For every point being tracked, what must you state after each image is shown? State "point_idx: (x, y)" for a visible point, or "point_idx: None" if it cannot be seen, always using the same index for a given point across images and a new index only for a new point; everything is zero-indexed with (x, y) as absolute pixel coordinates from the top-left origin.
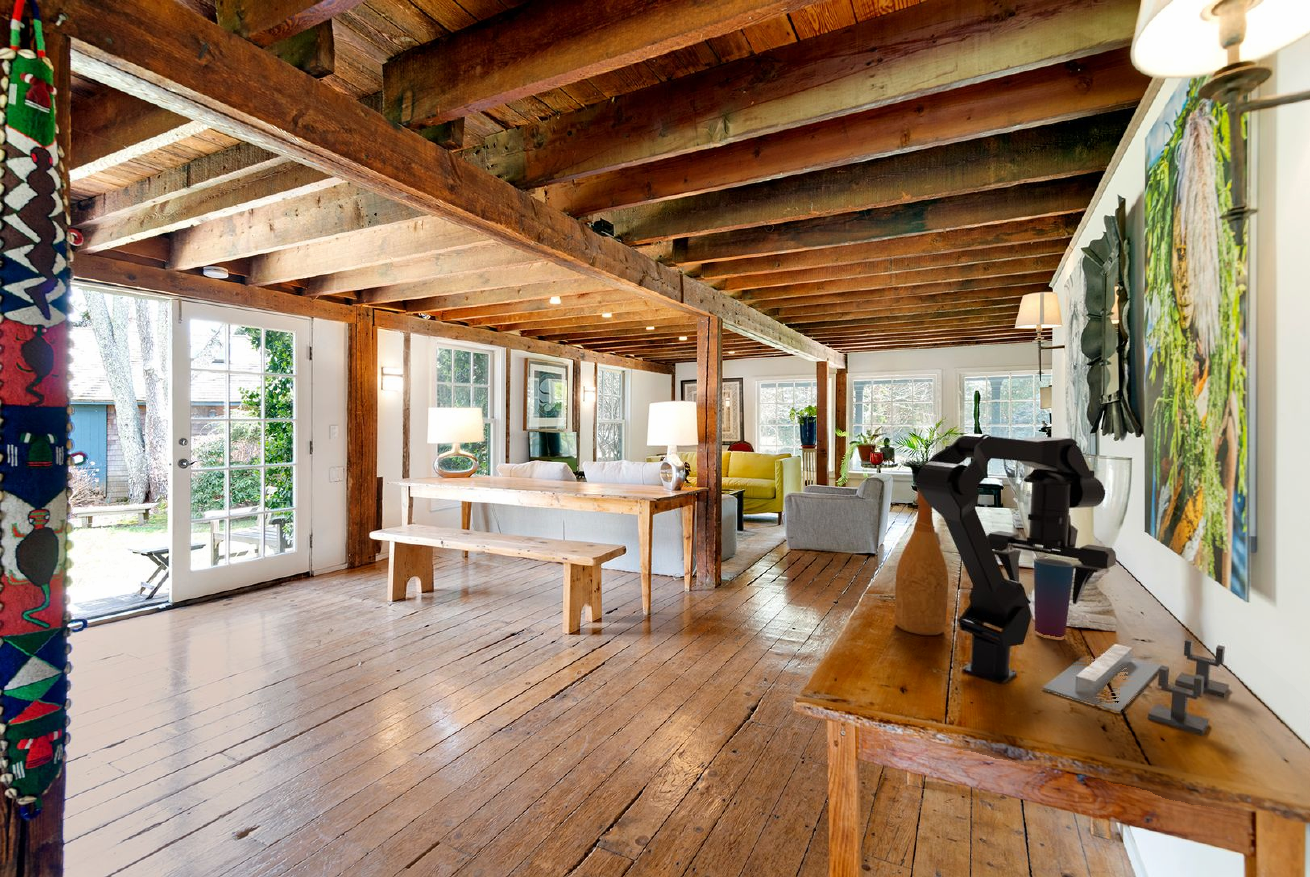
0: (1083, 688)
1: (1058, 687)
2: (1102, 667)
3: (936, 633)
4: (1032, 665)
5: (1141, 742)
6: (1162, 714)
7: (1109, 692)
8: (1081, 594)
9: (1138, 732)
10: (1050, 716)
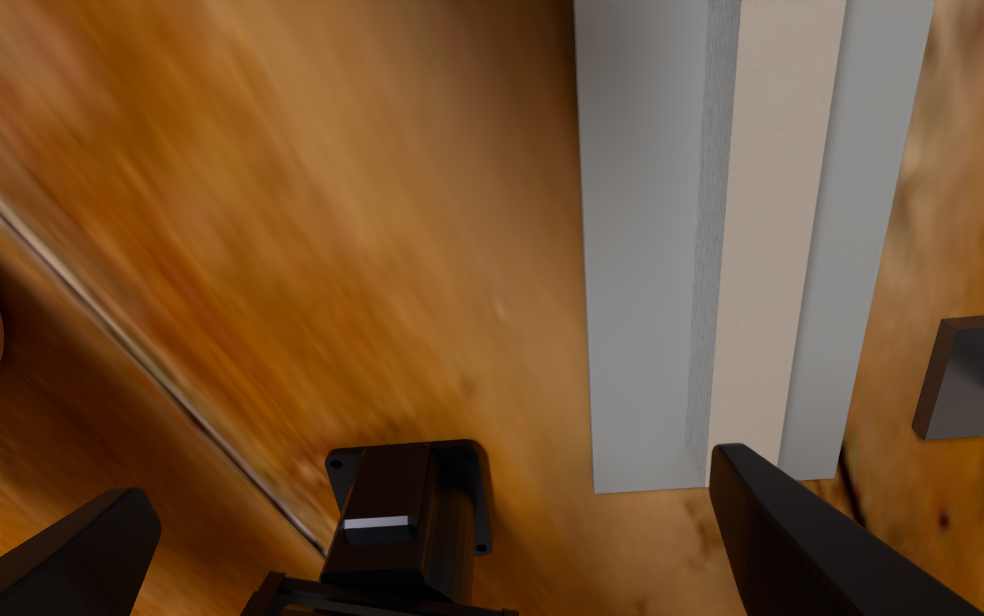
0: None
1: (632, 455)
2: (775, 296)
3: (2, 329)
4: (454, 283)
5: None
6: (971, 412)
7: None
8: (832, 512)
9: (883, 532)
10: (673, 611)
